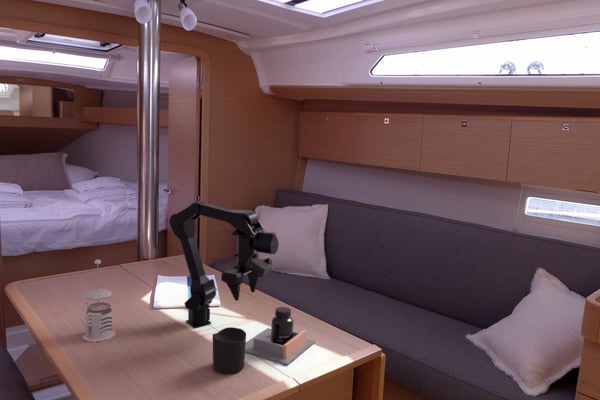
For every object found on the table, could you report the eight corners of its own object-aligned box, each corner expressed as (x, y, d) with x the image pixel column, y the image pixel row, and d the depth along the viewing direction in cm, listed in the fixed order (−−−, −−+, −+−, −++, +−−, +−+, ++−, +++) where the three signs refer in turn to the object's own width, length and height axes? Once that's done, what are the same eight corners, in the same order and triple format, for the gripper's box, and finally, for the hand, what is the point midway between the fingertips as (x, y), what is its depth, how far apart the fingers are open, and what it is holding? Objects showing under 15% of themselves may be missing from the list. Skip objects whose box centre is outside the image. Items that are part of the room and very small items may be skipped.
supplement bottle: (282, 353, 145) (283, 315, 143) (265, 346, 149) (267, 309, 147) (296, 346, 150) (298, 309, 148) (280, 339, 154) (282, 303, 152)
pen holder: (247, 373, 133) (248, 340, 132) (213, 377, 130) (214, 343, 129) (242, 358, 142) (243, 326, 141) (210, 361, 139) (210, 328, 138)
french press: (122, 332, 156) (121, 257, 152) (96, 347, 145) (94, 267, 141) (97, 326, 159) (96, 254, 155) (70, 341, 148) (68, 262, 144)
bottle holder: (236, 350, 147) (237, 335, 146) (267, 329, 163) (268, 316, 162) (287, 365, 138) (288, 350, 138) (315, 342, 154) (315, 329, 154)
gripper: (250, 260, 142) (249, 310, 145) (282, 248, 159) (280, 293, 161) (220, 254, 148) (219, 302, 150) (254, 242, 164) (253, 286, 166)
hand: (244, 296), depth 157 cm, fingers open, 9 cm apart
